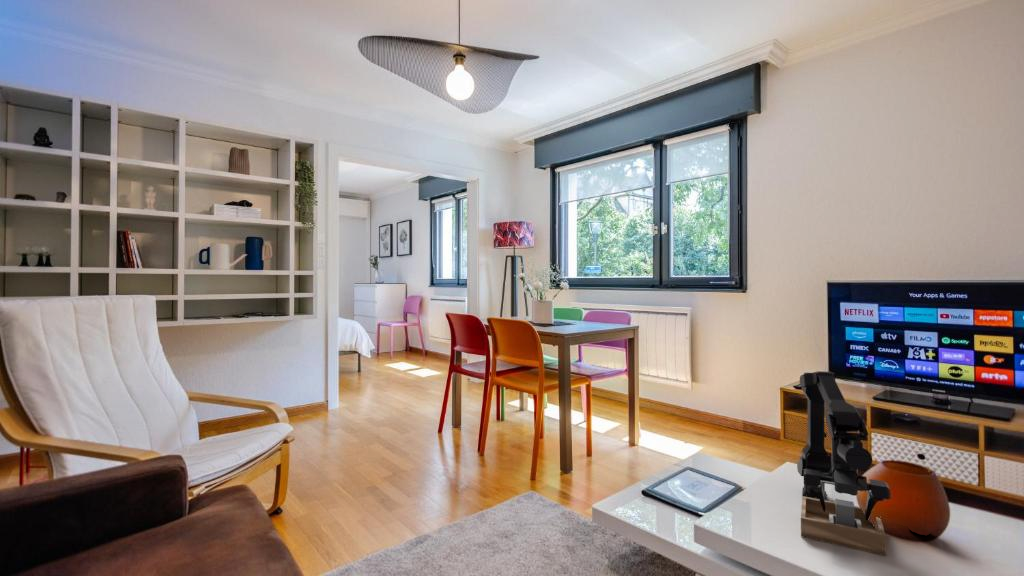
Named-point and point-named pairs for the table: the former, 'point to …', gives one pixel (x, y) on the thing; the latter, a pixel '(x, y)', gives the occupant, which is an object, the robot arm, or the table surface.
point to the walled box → (841, 527)
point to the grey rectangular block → (845, 513)
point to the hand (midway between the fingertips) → (845, 515)
